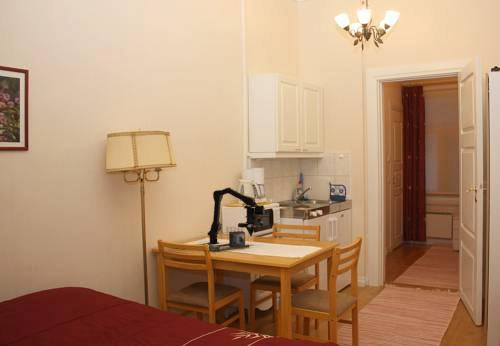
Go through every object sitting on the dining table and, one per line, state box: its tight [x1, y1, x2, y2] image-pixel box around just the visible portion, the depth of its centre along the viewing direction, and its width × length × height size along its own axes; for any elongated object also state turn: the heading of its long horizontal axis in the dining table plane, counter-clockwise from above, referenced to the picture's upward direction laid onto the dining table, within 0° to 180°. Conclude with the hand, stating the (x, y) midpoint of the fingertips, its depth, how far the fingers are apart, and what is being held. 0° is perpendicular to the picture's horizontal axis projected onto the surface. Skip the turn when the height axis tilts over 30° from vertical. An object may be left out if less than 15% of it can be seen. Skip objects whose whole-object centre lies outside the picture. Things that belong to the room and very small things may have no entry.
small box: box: [228, 230, 246, 247], centre depth 334 cm, size 11×6×10 cm, turn 105°
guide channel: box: [207, 243, 250, 253], centre depth 330 cm, size 15×27×3 cm, turn 124°
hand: (250, 236), depth 341 cm, fingers closed
